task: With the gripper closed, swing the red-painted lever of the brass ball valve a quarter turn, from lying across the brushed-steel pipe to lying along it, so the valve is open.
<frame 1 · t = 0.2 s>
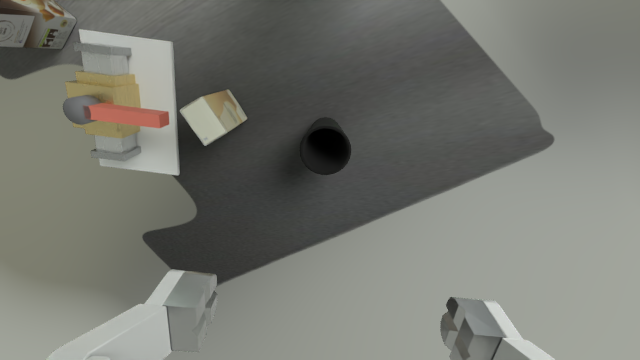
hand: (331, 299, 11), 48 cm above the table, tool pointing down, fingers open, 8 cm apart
lever: (117, 113, 46), point 10 cm above the table, hinge at 0.0°
cup: (325, 132, 57), on the table
board: (135, 107, 56), on the table
coffee box: (45, 14, 50), on the table
valve: (123, 100, 55), resting on board
skincare box: (229, 108, 56), on the table
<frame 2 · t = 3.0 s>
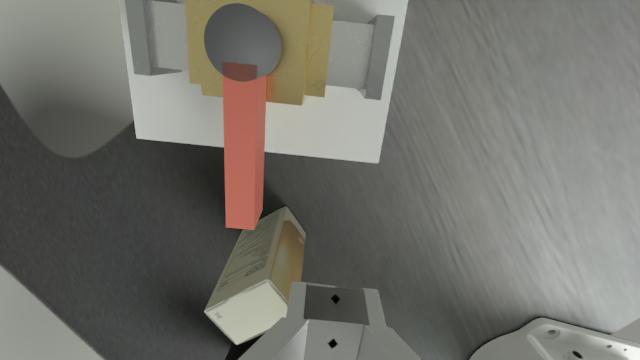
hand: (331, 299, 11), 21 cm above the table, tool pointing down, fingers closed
lever: (245, 126, 20), point 10 cm above the table, hinge at 0.0°
cup: (255, 341, 42), on the table
board: (261, 70, 28), on the table
valve: (273, 48, 27), resting on board
skincare box: (275, 229, 35), on the table
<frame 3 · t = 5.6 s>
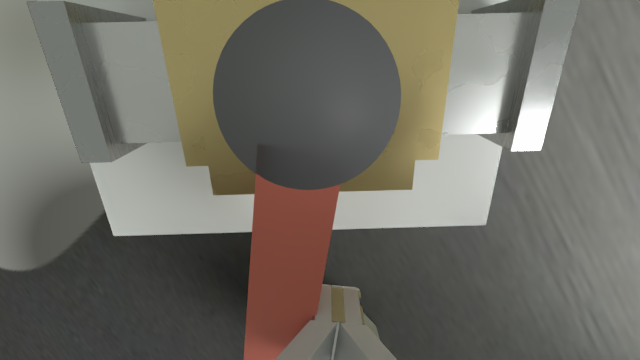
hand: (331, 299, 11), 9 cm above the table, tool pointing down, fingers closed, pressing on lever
lever: (289, 254, 10), point 10 cm above the table, hinge at 9.4°, touching gripper
board: (295, 110, 18), on the table
valve: (311, 73, 17), resting on board
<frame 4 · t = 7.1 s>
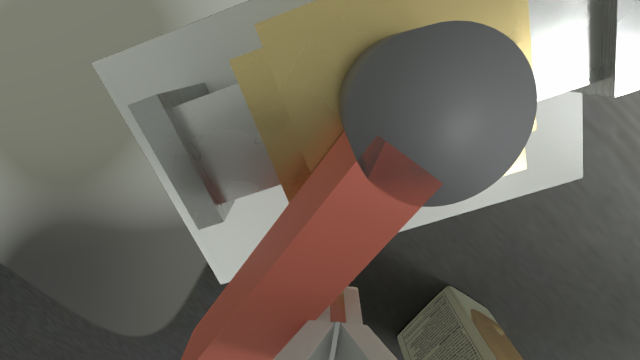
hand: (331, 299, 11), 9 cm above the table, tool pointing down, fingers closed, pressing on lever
lever: (310, 244, 9), point 10 cm above the table, hinge at 54.6°, touching gripper
board: (356, 122, 18), on the table
valve: (363, 82, 17), resting on board
skincare box: (440, 318, 24), on the table
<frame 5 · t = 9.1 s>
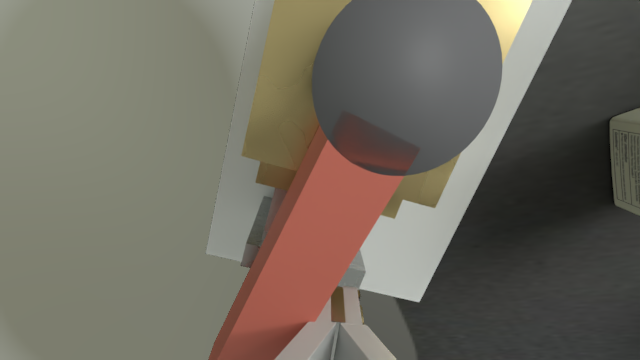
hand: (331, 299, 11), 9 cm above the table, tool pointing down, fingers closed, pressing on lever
lever: (307, 237, 9), point 10 cm above the table, hinge at 99.5°, touching gripper
board: (375, 102, 17), on the table
valve: (348, 74, 17), resting on board
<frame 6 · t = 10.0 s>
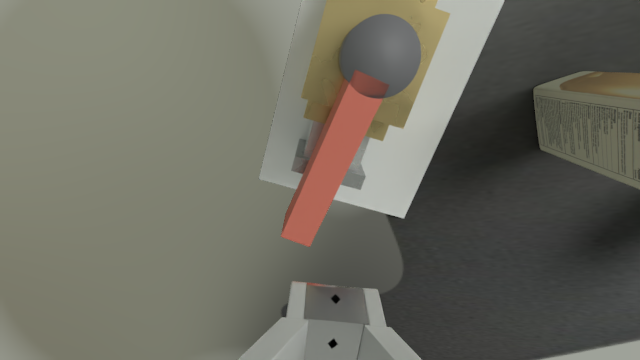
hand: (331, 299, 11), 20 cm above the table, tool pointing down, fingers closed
lever: (339, 138, 19), point 10 cm above the table, hinge at 96.5°
board: (374, 75, 26), on the table
valve: (356, 56, 26), resting on board
skincare box: (557, 109, 28), on the table
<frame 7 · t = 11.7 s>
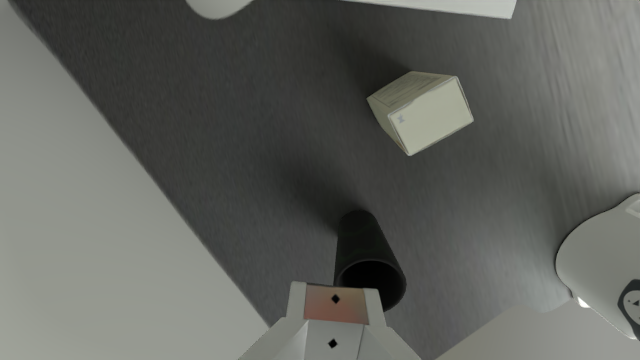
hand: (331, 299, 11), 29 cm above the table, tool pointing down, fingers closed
cup: (358, 227, 43), on the table
skincare box: (397, 99, 36), on the table
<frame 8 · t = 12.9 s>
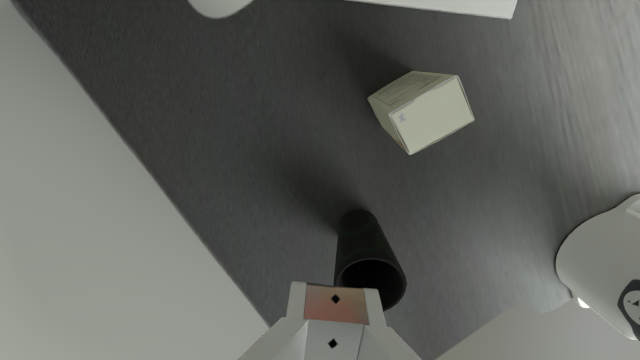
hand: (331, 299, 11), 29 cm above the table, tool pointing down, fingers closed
cup: (358, 226, 43), on the table
skincare box: (397, 98, 37), on the table
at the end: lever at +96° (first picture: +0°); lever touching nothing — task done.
